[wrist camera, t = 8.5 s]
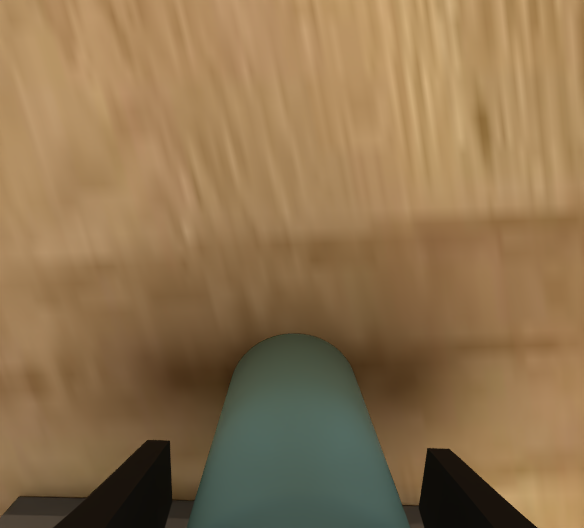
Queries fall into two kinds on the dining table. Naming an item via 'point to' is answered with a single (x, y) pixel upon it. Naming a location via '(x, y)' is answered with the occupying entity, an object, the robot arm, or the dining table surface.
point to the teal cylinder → (295, 446)
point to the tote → (50, 511)
